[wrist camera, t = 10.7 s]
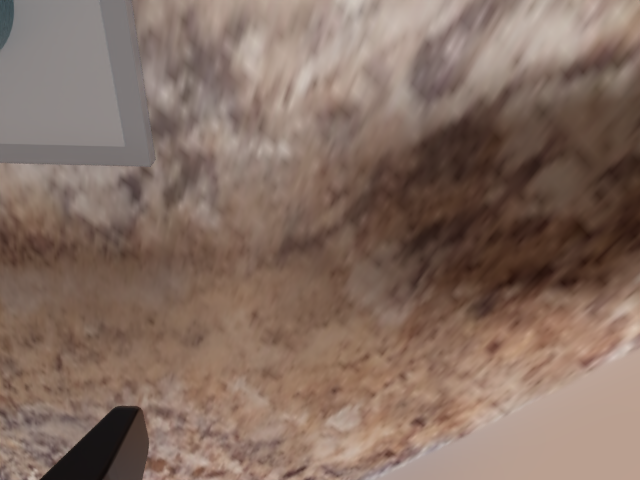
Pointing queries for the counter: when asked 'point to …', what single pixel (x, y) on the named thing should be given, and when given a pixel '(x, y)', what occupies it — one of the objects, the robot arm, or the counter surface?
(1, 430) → the counter surface
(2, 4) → the bottle
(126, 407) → the robot arm
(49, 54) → the coaster
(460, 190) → the counter surface
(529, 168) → the counter surface
